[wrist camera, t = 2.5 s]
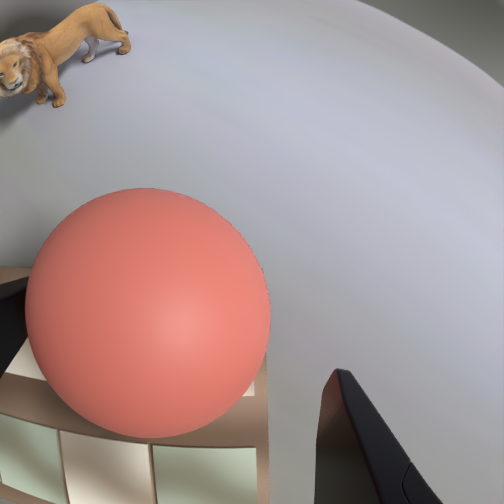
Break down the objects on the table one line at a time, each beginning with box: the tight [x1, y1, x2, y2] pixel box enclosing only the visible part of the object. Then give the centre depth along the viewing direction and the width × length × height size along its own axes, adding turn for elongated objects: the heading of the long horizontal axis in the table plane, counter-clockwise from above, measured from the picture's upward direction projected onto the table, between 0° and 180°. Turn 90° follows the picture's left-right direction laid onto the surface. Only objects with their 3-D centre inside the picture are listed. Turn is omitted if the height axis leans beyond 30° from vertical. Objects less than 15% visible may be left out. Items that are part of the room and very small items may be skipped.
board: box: [0, 267, 270, 504], centre depth 14 cm, size 16×23×1 cm
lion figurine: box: [0, 3, 131, 107], centre depth 19 cm, size 15×5×9 cm, turn 153°
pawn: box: [25, 188, 271, 438], centre depth 9 cm, size 5×5×13 cm
